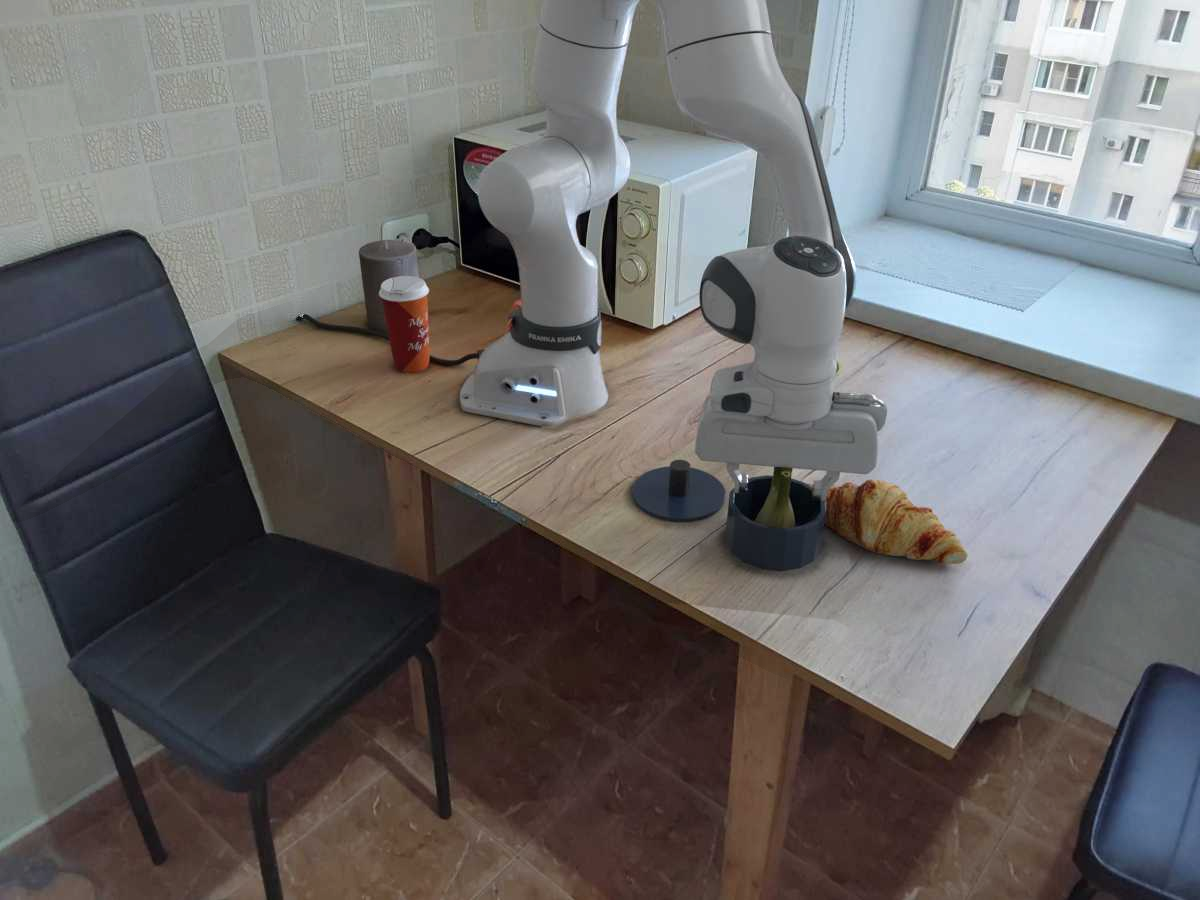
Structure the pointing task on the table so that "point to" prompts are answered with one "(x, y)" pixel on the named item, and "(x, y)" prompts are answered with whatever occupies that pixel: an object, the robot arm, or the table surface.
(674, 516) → the lid
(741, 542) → the pot
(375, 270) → the pillar candle
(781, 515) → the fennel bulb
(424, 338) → the paper cup
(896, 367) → the table surface
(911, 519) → the croissant
